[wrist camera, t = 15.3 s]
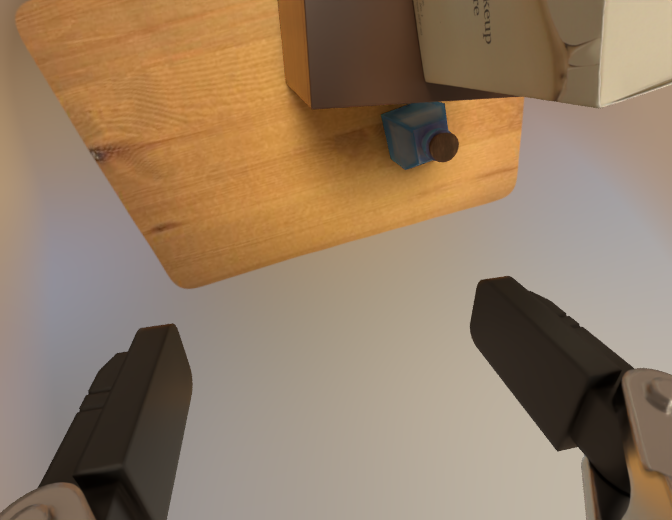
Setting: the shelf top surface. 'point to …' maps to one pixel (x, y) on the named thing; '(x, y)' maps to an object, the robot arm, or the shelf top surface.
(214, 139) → the shelf top surface
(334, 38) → the walnut shelf
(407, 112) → the perfume bottle
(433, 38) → the cosmetic box
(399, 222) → the shelf top surface
